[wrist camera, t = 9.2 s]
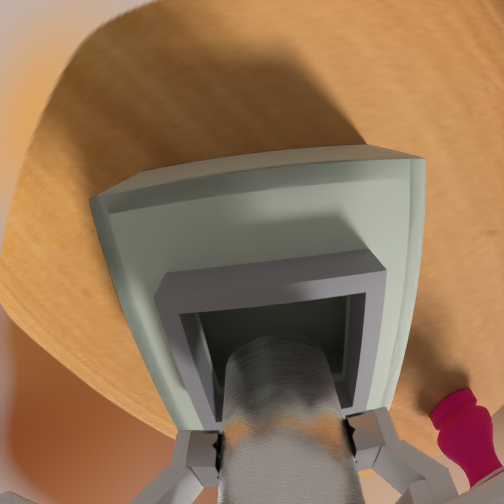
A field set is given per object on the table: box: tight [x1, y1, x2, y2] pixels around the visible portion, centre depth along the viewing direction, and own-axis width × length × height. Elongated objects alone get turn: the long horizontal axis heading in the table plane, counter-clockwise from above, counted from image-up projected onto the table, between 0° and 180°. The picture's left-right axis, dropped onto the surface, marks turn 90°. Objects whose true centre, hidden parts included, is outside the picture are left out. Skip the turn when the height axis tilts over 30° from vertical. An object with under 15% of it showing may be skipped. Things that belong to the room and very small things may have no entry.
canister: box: [218, 333, 365, 504], centre depth 7 cm, size 4×4×12 cm
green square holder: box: [89, 144, 426, 433], centre depth 17 cm, size 14×16×9 cm
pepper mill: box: [431, 389, 504, 490], centre depth 19 cm, size 7×7×20 cm
